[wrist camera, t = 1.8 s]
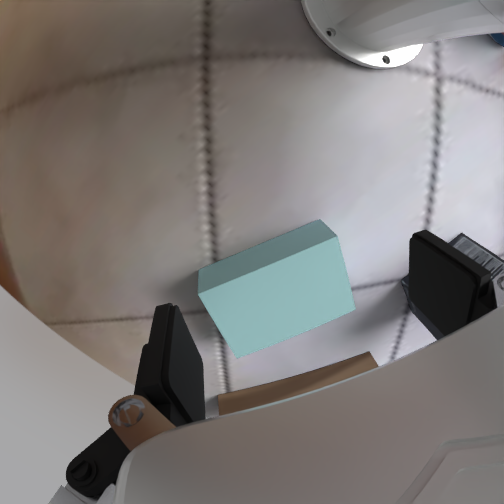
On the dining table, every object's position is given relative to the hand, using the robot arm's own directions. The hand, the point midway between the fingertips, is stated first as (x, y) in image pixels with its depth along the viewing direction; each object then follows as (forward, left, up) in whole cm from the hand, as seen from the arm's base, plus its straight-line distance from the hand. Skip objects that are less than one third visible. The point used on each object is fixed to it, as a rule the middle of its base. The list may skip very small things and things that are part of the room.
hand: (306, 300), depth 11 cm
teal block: (+9, 0, -17) cm, 19 cm away
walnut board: (+25, 0, -16) cm, 30 cm away
